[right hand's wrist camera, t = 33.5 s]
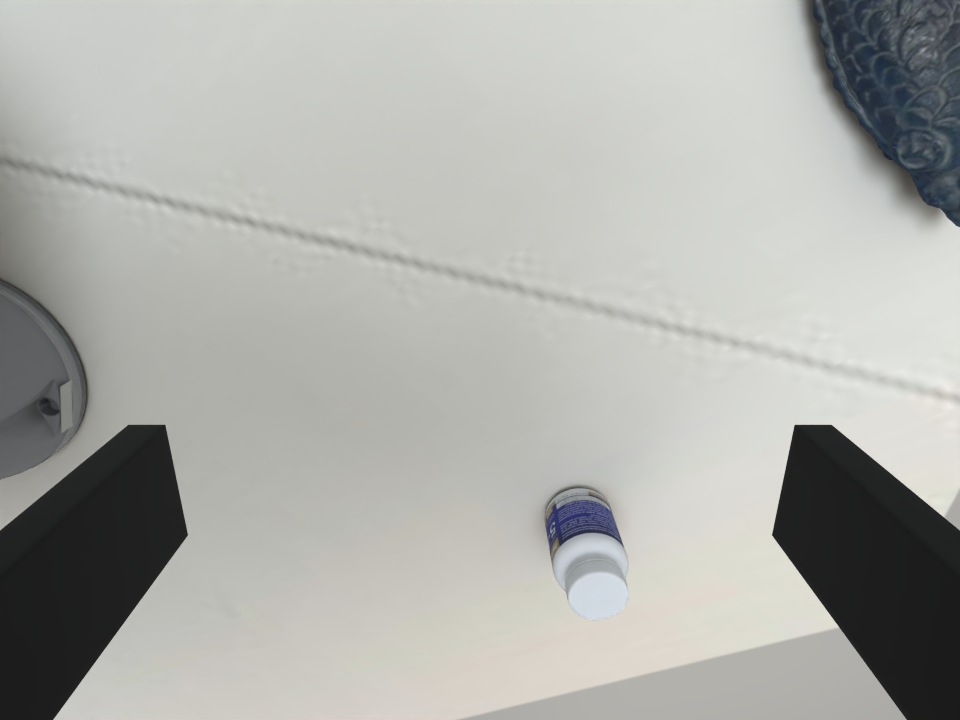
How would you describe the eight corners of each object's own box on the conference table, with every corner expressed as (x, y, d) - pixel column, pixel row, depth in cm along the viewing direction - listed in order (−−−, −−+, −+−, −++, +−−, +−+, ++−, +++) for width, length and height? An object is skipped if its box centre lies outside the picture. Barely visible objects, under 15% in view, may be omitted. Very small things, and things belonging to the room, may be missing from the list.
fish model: (891, 246, 40) (947, 260, 35) (756, -66, 34) (802, -101, 29) (991, 188, 38) (1063, 194, 34) (870, -147, 32) (937, -197, 28)
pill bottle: (535, 497, 47) (547, 576, 38) (600, 477, 46) (627, 553, 38) (555, 550, 48) (571, 637, 40) (618, 532, 48) (647, 616, 39)
